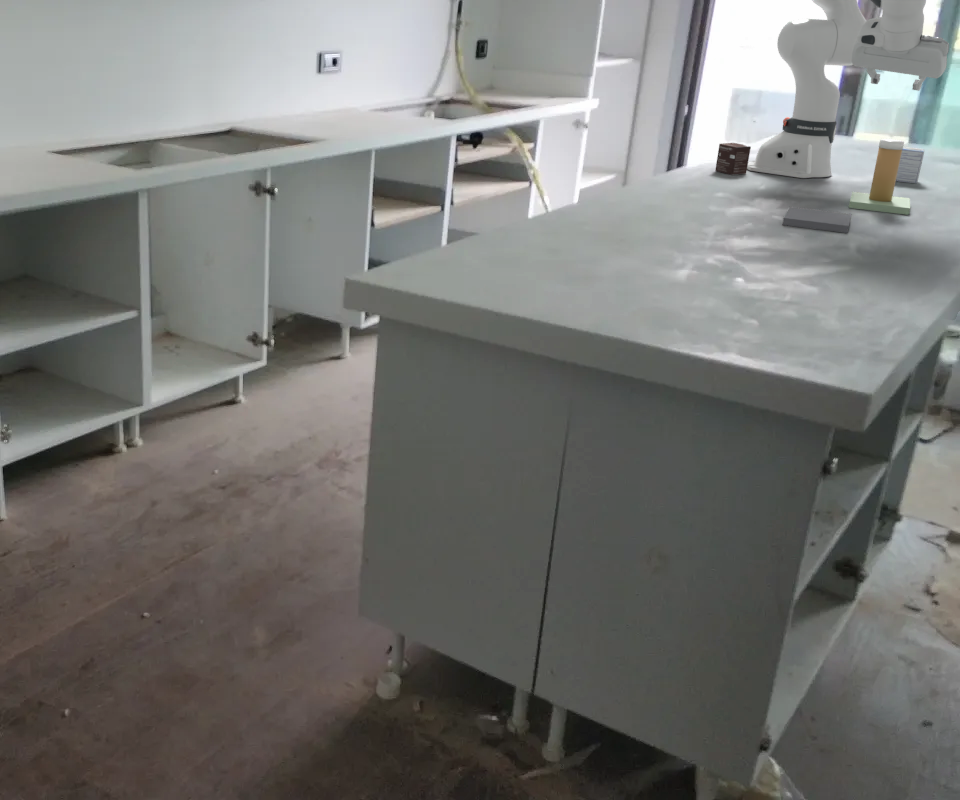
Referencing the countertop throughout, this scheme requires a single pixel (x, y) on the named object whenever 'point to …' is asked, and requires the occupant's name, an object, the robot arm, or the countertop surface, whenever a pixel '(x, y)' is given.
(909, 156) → the medicine box
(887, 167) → the pill bottle
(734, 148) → the box
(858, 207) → the tile
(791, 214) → the tile
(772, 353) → the countertop surface
